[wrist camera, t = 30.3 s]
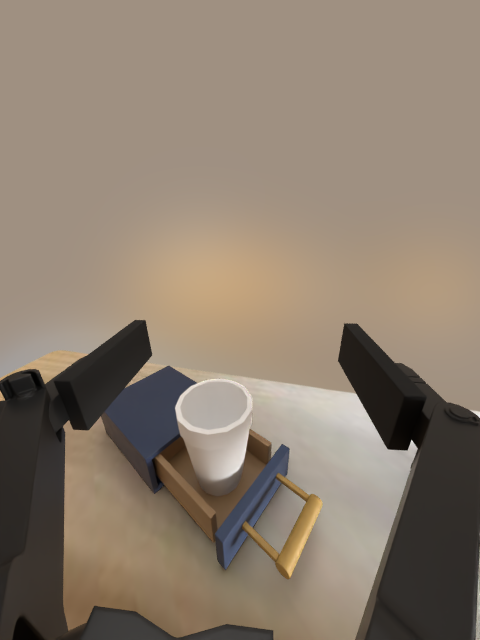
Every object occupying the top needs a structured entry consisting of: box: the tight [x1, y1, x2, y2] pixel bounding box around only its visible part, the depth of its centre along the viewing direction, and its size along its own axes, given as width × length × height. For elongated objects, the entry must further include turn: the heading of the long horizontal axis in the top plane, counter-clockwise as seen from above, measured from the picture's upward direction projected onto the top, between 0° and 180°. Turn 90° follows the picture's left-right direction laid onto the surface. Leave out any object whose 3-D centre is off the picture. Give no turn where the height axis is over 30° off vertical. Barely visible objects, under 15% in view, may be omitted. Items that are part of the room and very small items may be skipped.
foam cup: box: [175, 378, 252, 496], centre depth 31 cm, size 10×9×13 cm
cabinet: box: [101, 366, 197, 494], centre depth 41 cm, size 17×15×7 cm
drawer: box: [152, 429, 323, 579], centre depth 31 cm, size 22×13×5 cm, turn 50°
